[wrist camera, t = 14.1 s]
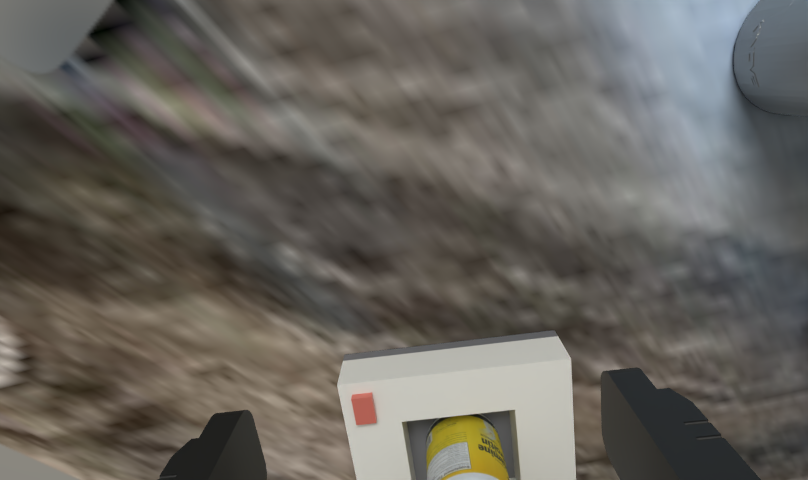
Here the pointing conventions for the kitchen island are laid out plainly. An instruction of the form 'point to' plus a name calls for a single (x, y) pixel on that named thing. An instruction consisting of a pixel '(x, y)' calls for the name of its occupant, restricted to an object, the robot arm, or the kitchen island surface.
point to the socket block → (461, 403)
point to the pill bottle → (464, 449)
